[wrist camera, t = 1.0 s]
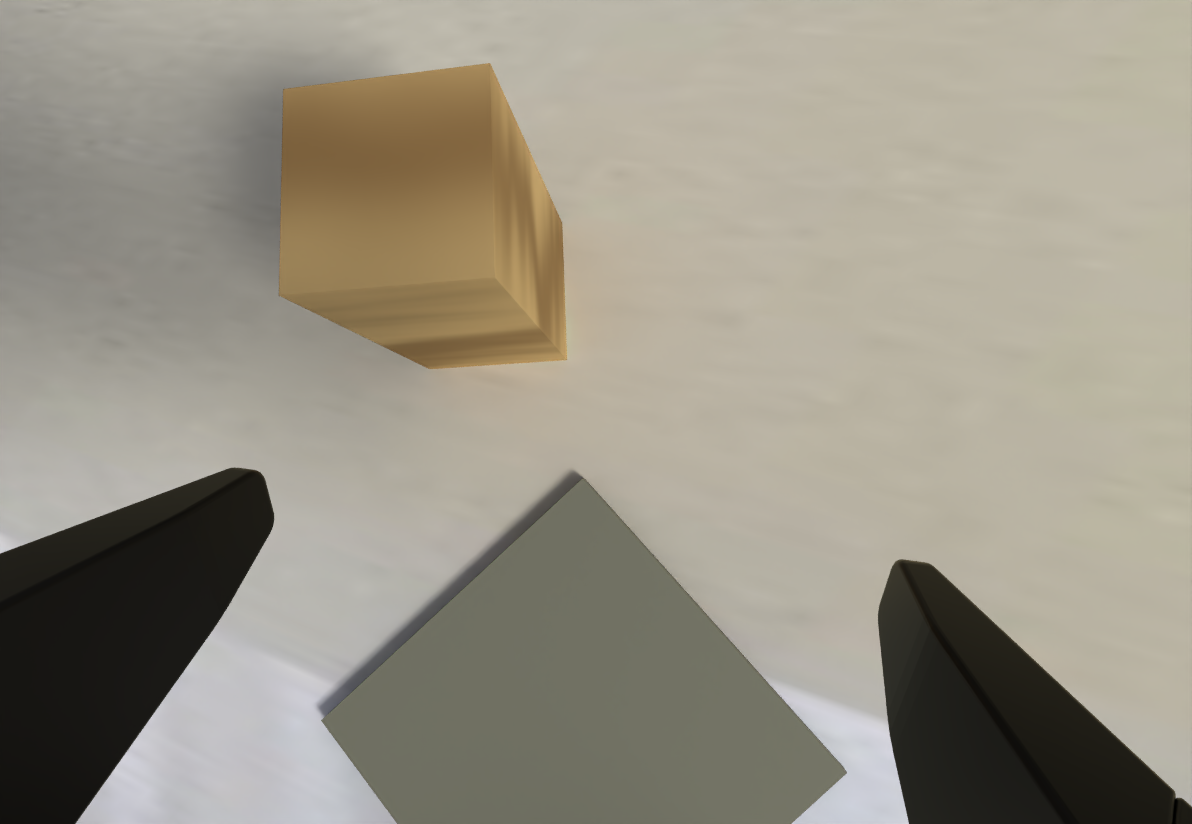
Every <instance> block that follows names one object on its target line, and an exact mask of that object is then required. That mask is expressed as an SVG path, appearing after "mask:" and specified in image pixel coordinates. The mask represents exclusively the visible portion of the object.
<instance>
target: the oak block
mask: <svg viewBox="0 0 1192 824" xmlns="http://www.w3.org/2000/svg"><path fill="white" fill-rule="evenodd" d="M279 296H281V297H283V298H285V299H287V300H289V301H291V302H293V303H295V304H298V305H300V306H302V307H304V308H306V309H308V310H310V311H312V312H314V313H316V314H318V315H320V316H322V317H324V318H326V319H328V320H330V321H332V322H334V323H336V324H338V325H340V326H342V327H345V328H347V329H349V330H351V331H353V332H355V333H357V334H359V335H361V336H363V337H365V338H367V339H369V340H371V341H373V342H375V343H377V344H379V345H381V346H383V347H385V348H387V349H390V350H392V351H394V352H396V353H398V354H400V355H402V356H404V357H406V358H408V359H410V360H412V361H414V362H416V363H418V364H420V365H422V366H424V367H426V368H428V369H439V368H454V367H469V366H484V365H499V364H514V363H529V362H544V361H559V360H567V345H566V316H565V288H564V260H563V232H562V222H561V219H560V217H559V215H558V213H557V211H556V208H555V206H554V204H553V202H552V199H551V197H550V195H549V193H548V191H547V188H546V186H545V184H544V182H543V180H542V177H541V175H540V173H539V171H538V168H537V166H536V164H535V162H534V160H533V157H532V155H531V153H530V151H529V148H528V146H527V144H526V142H525V140H524V137H523V135H522V133H521V131H520V128H519V126H518V124H517V122H516V120H515V117H514V115H513V113H512V111H511V109H510V106H509V104H508V102H507V100H506V97H505V95H504V93H503V91H502V89H501V86H500V84H499V82H498V80H497V77H496V75H495V73H494V71H493V69H492V66H491V64H490V63H488V64H480V65H472V66H464V67H456V68H448V69H440V70H432V71H424V72H416V73H408V74H400V75H392V76H384V77H376V78H368V79H360V80H352V81H344V82H336V83H328V84H320V85H312V86H304V87H296V88H288V89H283V128H282V175H281V223H280V270H279Z"/></svg>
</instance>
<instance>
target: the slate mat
mask: <svg viewBox="0 0 1192 824" xmlns="http://www.w3.org/2000/svg"><path fill="white" fill-rule="evenodd" d="M321 721H322V722H323V724H324V725H325V726H326V728H327V729H328V730H329V732H330V733H331V734H332V736H333V737H334V738H335V740H336V741H337V743H338V744H339V745H340V747H341V748H342V749H343V751H344V752H345V753H346V755H347V756H348V757H349V759H350V760H351V762H352V763H353V764H354V766H355V767H356V768H357V770H358V771H359V772H360V774H361V775H362V776H363V778H364V779H365V780H366V782H367V783H368V785H369V786H370V787H371V789H372V790H373V791H374V793H375V794H376V795H377V797H378V798H379V799H380V801H381V802H382V804H383V805H384V806H385V808H386V809H387V810H388V812H389V813H390V814H391V816H392V817H393V818H394V820H395V821H396V822H397V824H791V823H792V822H794V821H795V820H796V819H797V818H798V817H799V816H800V815H801V814H802V813H803V812H805V811H806V810H807V809H808V808H809V807H810V806H811V805H812V804H813V803H814V802H816V801H817V800H818V799H819V798H820V797H821V796H822V795H823V794H824V793H825V792H826V791H828V790H829V789H830V788H831V787H832V786H833V785H834V784H835V783H836V782H837V781H839V780H840V779H841V778H842V777H843V776H844V775H845V774H846V773H847V772H846V770H845V769H844V767H843V766H842V765H841V764H840V763H839V762H838V760H837V759H836V758H835V757H834V756H833V755H832V754H831V753H830V752H829V750H828V749H827V748H826V747H825V746H824V745H823V744H822V743H821V742H820V740H819V739H818V738H817V737H816V736H815V735H814V734H813V733H812V732H811V730H810V729H809V728H808V727H807V726H806V725H805V724H804V723H803V721H802V720H801V719H800V718H799V717H798V716H797V715H796V714H795V713H794V711H793V710H792V709H791V708H790V707H789V706H788V705H787V704H786V703H785V701H784V700H783V699H782V698H781V697H780V696H779V695H778V694H777V692H776V691H775V690H774V689H773V688H772V687H771V686H770V685H769V684H768V682H767V681H766V680H765V679H764V678H763V677H762V676H761V675H760V674H759V672H758V671H757V670H756V669H755V668H754V667H753V666H752V665H751V664H750V662H749V661H748V660H747V659H746V658H745V657H744V656H743V655H742V653H741V652H740V651H739V650H738V649H737V648H736V647H735V646H734V645H733V643H732V642H731V641H730V640H729V639H728V638H727V637H726V636H725V635H724V633H723V632H722V631H721V630H720V629H719V628H718V627H717V626H716V624H715V623H714V622H713V621H712V620H711V619H710V618H709V617H708V616H707V614H706V613H705V612H704V611H703V610H702V609H701V608H700V607H699V606H698V604H697V603H696V602H695V601H694V600H693V599H692V598H691V597H690V596H689V594H688V593H687V592H686V591H685V590H684V589H683V588H682V587H681V585H680V584H679V583H678V582H677V581H676V580H675V579H674V578H673V577H672V575H671V574H670V573H669V572H668V571H667V570H666V569H665V568H664V567H663V565H662V564H661V563H660V562H659V561H658V560H657V559H656V558H655V556H654V555H653V554H652V553H651V552H650V551H649V550H648V549H647V548H646V546H645V545H644V544H643V543H642V542H641V541H640V540H639V539H638V538H637V536H636V535H635V534H634V533H633V532H632V531H631V530H630V529H629V527H628V526H627V525H626V524H625V523H624V522H623V521H622V520H621V519H620V517H619V516H618V515H617V514H616V513H615V512H614V511H613V510H612V509H611V507H610V506H609V505H608V504H607V503H606V502H605V501H604V500H603V499H602V497H601V496H600V495H599V494H598V493H597V492H596V491H595V490H594V488H593V487H592V486H591V485H590V484H589V483H588V482H587V481H586V480H585V479H584V478H583V479H581V480H580V481H579V482H578V483H577V484H576V485H575V486H574V487H573V488H572V489H571V490H570V491H569V492H567V493H566V494H565V495H564V496H563V497H562V498H561V499H560V500H559V501H558V502H557V503H556V504H555V505H553V506H552V507H551V508H550V509H549V510H548V511H547V512H546V513H545V514H544V515H543V516H542V517H540V518H539V519H538V520H537V521H536V522H535V523H534V524H533V525H532V526H531V527H530V528H529V529H528V530H526V531H525V532H524V533H523V534H522V535H521V536H520V537H519V538H518V539H517V540H516V541H515V542H513V543H512V544H511V545H510V546H509V547H508V548H507V549H506V550H505V551H504V552H503V553H502V554H501V555H499V556H498V557H497V558H496V559H495V560H494V561H493V562H492V563H491V564H490V565H489V566H488V567H486V568H485V569H484V570H483V571H482V572H481V573H480V574H479V575H478V576H477V577H476V578H475V579H474V580H472V581H471V582H470V583H469V584H468V585H467V586H466V587H465V588H464V589H463V590H462V591H461V592H459V593H458V594H457V595H456V596H455V597H454V598H453V599H452V600H451V601H450V602H449V603H448V604H447V605H445V606H444V607H443V608H442V609H441V610H440V611H439V612H438V613H437V614H436V615H435V616H434V617H433V618H431V619H430V620H429V621H428V622H427V623H426V624H425V625H424V626H423V627H422V628H421V629H420V630H418V631H417V632H416V633H415V634H414V635H413V636H412V637H411V638H410V639H409V640H408V641H407V642H406V643H404V644H403V645H402V646H401V647H400V648H399V649H398V650H397V651H396V652H395V653H394V654H393V655H391V656H390V657H389V658H388V659H387V660H386V661H385V662H384V663H383V664H382V665H381V666H380V667H379V668H377V669H376V670H375V671H374V672H373V673H372V674H371V675H370V676H369V677H368V678H367V679H366V680H364V681H363V682H362V683H361V684H360V685H359V686H358V687H357V688H356V689H355V690H354V691H353V692H352V693H350V694H349V695H348V696H347V697H346V698H345V699H344V700H343V701H342V702H341V703H340V704H339V705H338V706H336V707H335V708H334V709H333V710H332V711H331V712H330V713H329V714H328V715H327V716H326V717H325V718H323V719H322V720H321Z"/></svg>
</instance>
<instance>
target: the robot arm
mask: <svg viewBox="0 0 1192 824" xmlns="http://www.w3.org/2000/svg"><path fill="white" fill-rule="evenodd" d="M273 524H274V512H273V508H272V504H271V500H270V496H269V493H268V489H267V485H266V481H265V478H264V476H263V475H262V474H261V473H260V472H259V471H256V470H251V469H244V468H229V469H226V470H223V471H221V472H218V473H215V474H213V475H210V476H207V477H205V478H202V479H199V480H197V481H194V482H191V483H189V484H186V485H183V486H181V487H178V488H175V489H172V490H170V491H167V492H164V493H162V494H159V495H156V496H154V497H151V498H148V499H146V500H143V501H140V502H138V503H135V504H132V505H130V506H127V507H124V508H121V509H119V510H116V511H113V512H111V513H108V514H105V515H103V516H100V517H97V518H95V519H92V520H89V521H87V522H84V523H81V524H79V525H76V526H73V527H70V528H68V529H65V530H62V531H60V532H57V533H54V534H52V535H49V536H46V537H44V538H41V539H38V540H36V541H33V542H30V543H28V544H25V545H22V546H19V547H17V548H14V549H11V550H9V551H6V552H3V553H1V554H0V824H76V822H77V821H78V819H79V818H80V817H81V815H82V814H83V812H84V811H85V810H86V808H87V807H88V805H89V804H90V803H91V801H92V800H93V798H94V797H95V795H96V794H97V793H98V791H99V790H100V788H101V787H102V786H103V784H104V783H105V781H106V780H107V779H108V777H109V776H110V774H111V773H112V772H113V770H114V769H115V767H116V766H117V764H118V763H119V762H120V760H121V759H122V757H123V756H124V755H125V753H126V752H127V750H128V749H129V748H130V746H131V745H132V743H133V742H134V741H135V739H136V738H137V736H138V735H139V733H140V732H141V731H142V729H143V728H144V726H145V725H146V724H147V722H148V721H149V719H150V718H151V717H152V715H153V714H154V712H155V711H156V710H157V708H158V707H159V705H160V704H161V702H162V701H163V700H164V698H165V697H166V695H167V694H168V693H169V691H170V690H171V688H172V687H173V686H174V684H175V683H176V681H177V680H178V679H179V677H180V676H181V674H182V673H183V671H184V670H185V669H186V667H187V666H188V664H189V663H190V662H191V660H192V659H193V657H194V656H195V655H196V653H197V652H198V650H199V649H200V647H201V646H202V645H203V643H204V642H205V640H206V639H207V638H208V636H209V635H210V633H211V632H212V631H213V629H214V628H215V626H216V625H217V623H218V622H219V620H220V619H221V617H222V615H223V614H224V612H225V611H226V609H227V607H228V606H229V604H230V602H231V601H232V599H233V597H234V595H235V594H236V592H237V590H238V588H239V587H240V585H241V583H242V581H243V580H244V578H245V576H246V574H247V573H248V571H249V569H250V567H251V566H252V564H253V562H254V560H255V559H256V557H257V555H258V553H259V552H260V550H261V548H262V546H263V545H264V543H265V541H266V539H267V538H268V536H269V534H270V532H271V530H272V527H273ZM878 626H879V636H880V646H881V656H882V666H883V676H884V686H885V696H886V706H887V716H888V724H889V732H890V738H891V743H892V748H893V753H894V758H895V762H896V767H897V771H898V776H899V780H900V785H901V789H902V794H903V798H904V803H905V807H906V812H907V816H908V821H909V824H1192V807H1191V806H1190V805H1189V804H1188V803H1187V802H1186V801H1185V800H1184V799H1182V798H1176V794H1175V791H1174V790H1173V789H1172V788H1171V787H1170V786H1169V785H1168V784H1166V783H1165V782H1164V781H1163V780H1162V779H1161V778H1160V777H1159V776H1158V775H1157V774H1156V773H1155V772H1154V771H1153V770H1151V769H1150V768H1149V767H1148V766H1147V765H1146V764H1145V763H1144V762H1143V761H1142V760H1141V759H1140V758H1139V757H1138V756H1136V755H1135V754H1134V753H1133V752H1132V751H1131V750H1130V749H1129V748H1128V747H1127V746H1126V745H1125V744H1124V743H1123V742H1121V741H1120V740H1119V739H1118V738H1117V737H1116V736H1115V735H1114V734H1113V733H1112V732H1111V731H1110V730H1109V729H1108V728H1106V727H1105V726H1104V725H1103V724H1102V723H1101V722H1100V721H1099V720H1098V719H1097V718H1096V717H1095V716H1094V715H1093V714H1091V713H1090V712H1089V711H1088V710H1087V709H1086V708H1085V707H1084V706H1083V705H1082V704H1081V703H1080V702H1079V701H1078V700H1076V699H1075V698H1074V697H1073V696H1072V695H1071V694H1070V693H1069V692H1068V691H1067V690H1066V689H1065V688H1064V687H1063V686H1061V685H1060V684H1059V683H1058V682H1057V681H1056V680H1055V679H1054V678H1053V677H1052V676H1051V675H1050V674H1049V673H1048V672H1046V671H1045V670H1044V669H1043V668H1042V667H1041V666H1040V665H1039V664H1038V663H1037V662H1036V661H1035V660H1034V659H1033V658H1031V657H1030V656H1029V655H1028V654H1027V653H1026V652H1025V651H1024V650H1023V649H1022V648H1021V647H1020V646H1019V645H1018V644H1016V643H1015V642H1014V641H1013V640H1012V639H1011V638H1010V637H1009V636H1008V635H1007V634H1006V633H1005V632H1004V631H1003V630H1001V629H1000V628H999V627H998V626H997V625H996V624H995V623H994V622H993V621H992V620H991V619H990V618H989V617H988V616H986V615H985V614H984V613H983V612H982V611H981V610H980V609H979V608H978V607H977V606H976V605H975V604H974V603H973V602H971V601H970V600H969V599H968V598H967V597H966V596H965V595H964V594H963V593H962V592H961V591H960V590H959V589H958V588H956V587H955V586H954V585H953V584H952V583H951V582H950V581H949V580H948V579H947V578H946V577H945V576H944V575H943V574H941V573H940V572H939V571H938V570H937V569H936V568H935V567H934V566H932V565H931V564H929V563H925V562H918V561H911V560H903V559H900V560H898V561H896V562H895V563H894V565H893V566H892V569H891V571H890V575H889V578H888V581H887V584H886V587H885V590H884V593H883V596H882V599H881V602H880V605H879V611H878ZM1175 798H1176V799H1175Z"/></svg>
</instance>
